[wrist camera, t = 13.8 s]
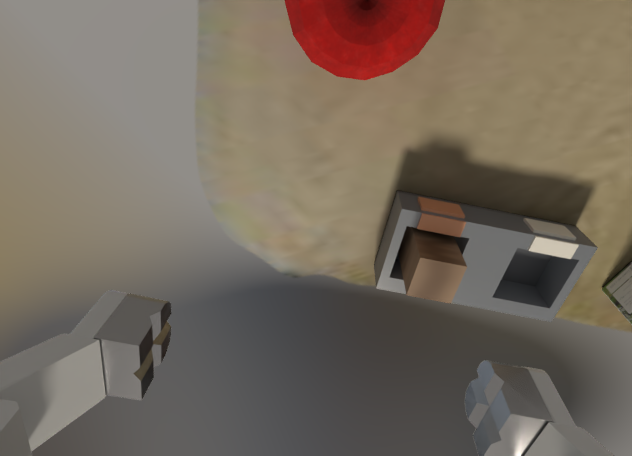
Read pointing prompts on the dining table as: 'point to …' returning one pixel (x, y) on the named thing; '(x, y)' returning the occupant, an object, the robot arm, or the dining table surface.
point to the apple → (363, 33)
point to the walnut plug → (430, 264)
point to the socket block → (492, 255)
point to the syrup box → (621, 291)
